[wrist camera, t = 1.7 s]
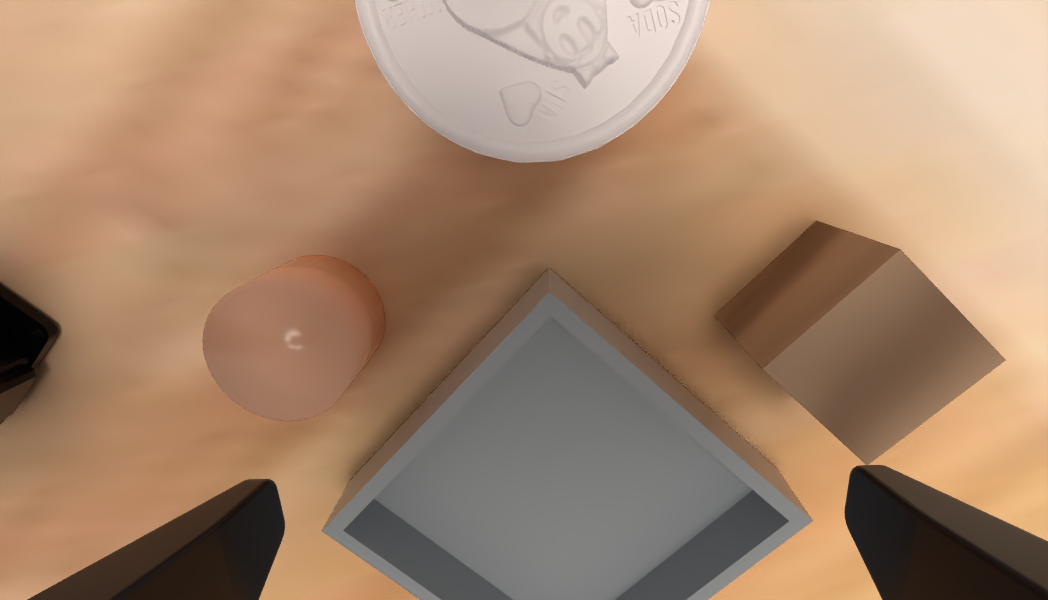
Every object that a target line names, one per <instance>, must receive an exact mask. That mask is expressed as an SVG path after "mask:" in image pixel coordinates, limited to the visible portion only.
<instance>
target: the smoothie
mask: <svg viewBox="0 0 1048 600" xmlns="http://www.w3.org/2000/svg"><path fill="white" fill-rule="evenodd" d="M355 4H356V9H357V13H358V18H359V21H360V24H361V27H362V30H363V33H364V36H365V39H366V41H367V44H368V46H369V48H370V51H371V53H372V55H373V57H374V59H375V61H376V63H377V65H378V67H379V69H380V71H381V72H382V74H383V75H384V77H385V78H386V80H387V81H388V83H389V85H390V86H391V87H392V89H393V90H394V91H395V93H396V94H397V95H398V96H399V98H400V99H401V100H402V101H403V102H404V103H405V104H406V106H407V107H408V108H409V109H410V110H411V111H412V112H413V113H414V114H415V115H416V116H417V117H419V118H420V119H421V120H422V121H423V122H424V123H425V124H427V125H428V126H429V127H431V128H432V129H433V130H435V131H436V132H437V133H439V134H440V135H442V136H444V137H445V138H447V139H449V140H450V141H452V142H454V143H456V144H458V145H460V146H462V147H464V148H466V149H468V150H471V151H474V152H476V153H477V154H481V155H485V156H490V157H494V158H498V159H503V160H507V161H511V162H516V163H531V162H553V161H561V160H564V159H568V158H571V157H574V156H577V155H580V154H583V153H586V152H589V151H592V150H595V149H599V148H600V147H602V146H603V145H605V144H606V143H608V142H610V141H611V140H613V139H615V138H616V137H618V136H619V135H621V134H623V133H624V132H626V131H627V130H628V129H630V128H631V127H633V126H635V125H636V124H637V123H638V122H639V121H640V120H641V119H642V118H643V117H644V116H646V115H647V114H648V113H649V112H650V111H651V110H652V109H653V108H654V107H655V106H656V105H657V104H658V103H659V101H660V100H661V99H662V98H663V97H664V96H665V95H666V93H667V92H668V91H669V89H670V88H671V87H672V85H673V84H674V83H675V81H676V80H677V78H678V77H679V75H680V74H681V72H682V70H683V69H684V67H685V66H686V64H687V62H688V60H689V58H690V56H691V54H692V52H693V50H694V48H695V46H696V43H697V41H698V38H699V36H700V34H701V31H702V28H703V25H704V22H705V19H706V15H707V12H708V8H709V4H710V0H355Z"/></svg>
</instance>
